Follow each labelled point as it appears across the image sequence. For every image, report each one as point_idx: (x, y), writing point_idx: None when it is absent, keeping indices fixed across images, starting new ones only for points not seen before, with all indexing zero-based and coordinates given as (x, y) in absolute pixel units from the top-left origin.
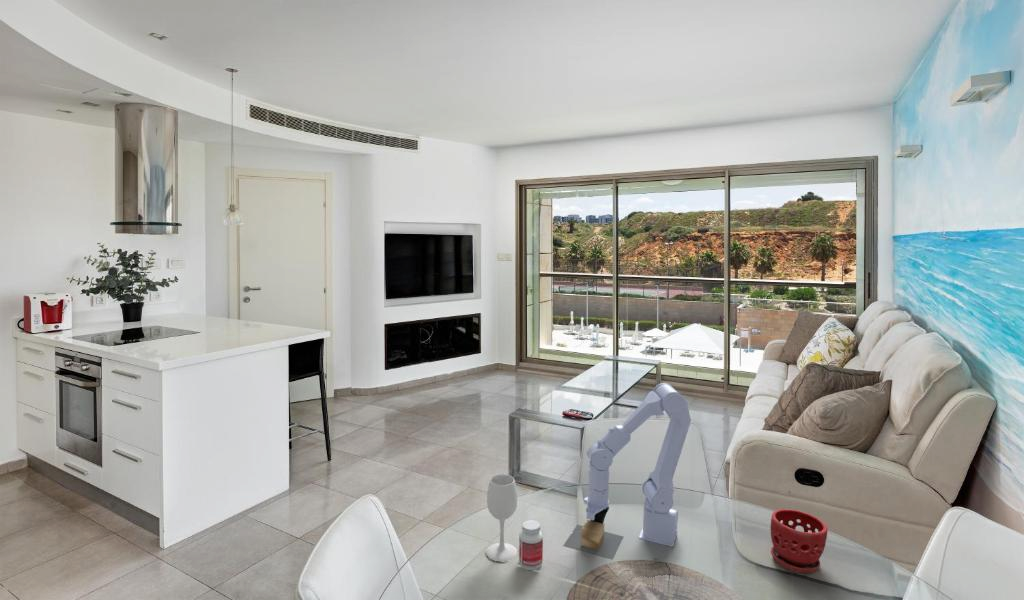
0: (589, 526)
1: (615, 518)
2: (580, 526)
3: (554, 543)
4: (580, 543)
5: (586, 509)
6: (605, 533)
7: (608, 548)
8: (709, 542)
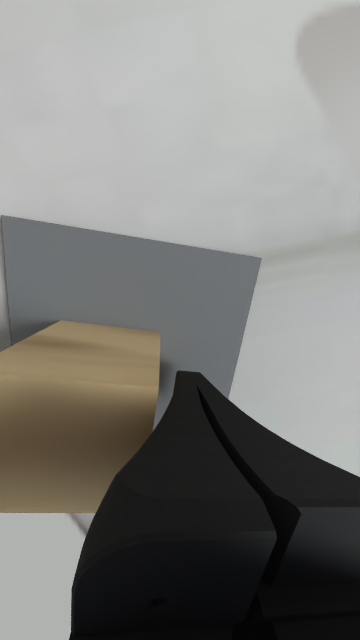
0: (42, 430)
1: (350, 413)
2: (246, 280)
3: (19, 148)
4: (76, 313)
5: (130, 529)
6: None
7: None
8: None
